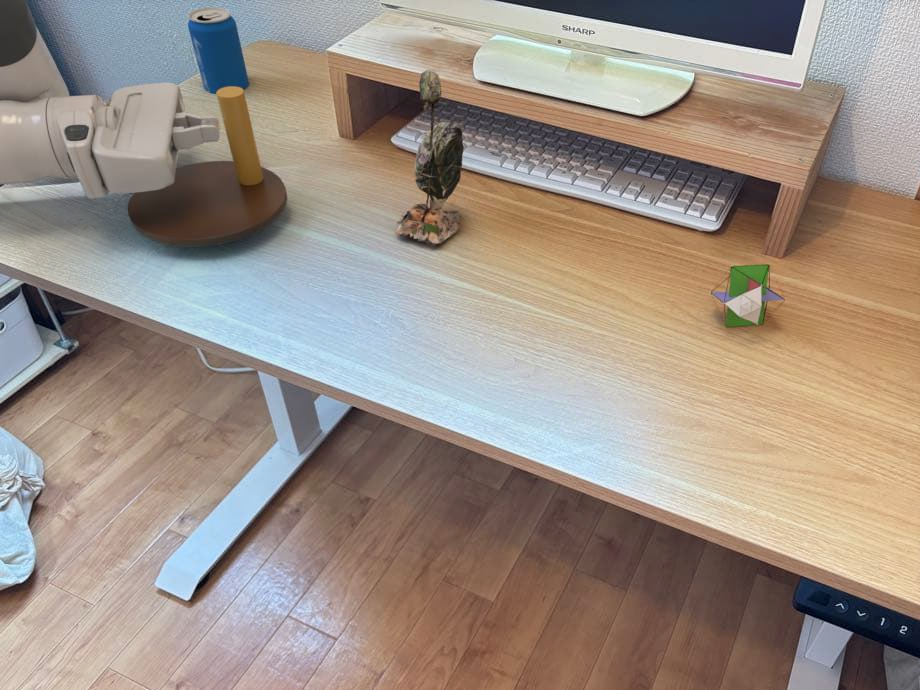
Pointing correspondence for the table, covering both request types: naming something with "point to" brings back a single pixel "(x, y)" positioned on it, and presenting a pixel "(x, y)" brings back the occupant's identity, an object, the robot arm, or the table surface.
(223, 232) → the tray
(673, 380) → the table surface
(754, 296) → the geometric puzzle
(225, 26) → the beverage can
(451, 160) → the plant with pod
